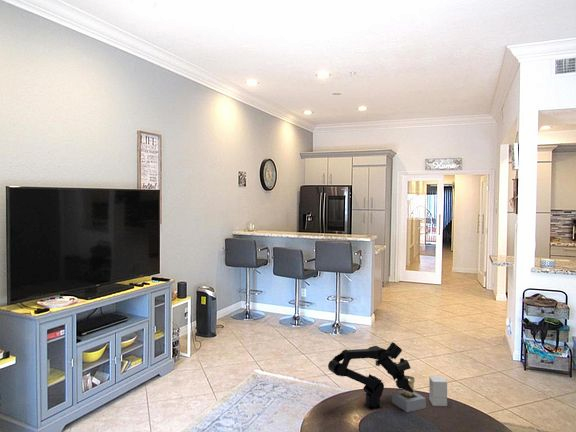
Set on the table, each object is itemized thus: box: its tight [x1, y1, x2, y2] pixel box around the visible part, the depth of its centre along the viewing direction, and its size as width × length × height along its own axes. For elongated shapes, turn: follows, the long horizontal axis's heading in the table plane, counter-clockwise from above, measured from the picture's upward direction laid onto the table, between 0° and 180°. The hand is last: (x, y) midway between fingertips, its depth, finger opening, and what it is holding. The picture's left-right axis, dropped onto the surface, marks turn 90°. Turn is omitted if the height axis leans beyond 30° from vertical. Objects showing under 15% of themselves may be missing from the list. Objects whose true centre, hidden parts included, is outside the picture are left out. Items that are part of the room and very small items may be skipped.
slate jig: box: [391, 390, 427, 413], centre depth 210 cm, size 12×12×5 cm
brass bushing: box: [402, 375, 416, 399], centre depth 210 cm, size 6×6×13 cm
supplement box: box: [428, 375, 448, 407], centre depth 212 cm, size 7×7×13 cm
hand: (411, 388), depth 210 cm, fingers open, 9 cm apart
